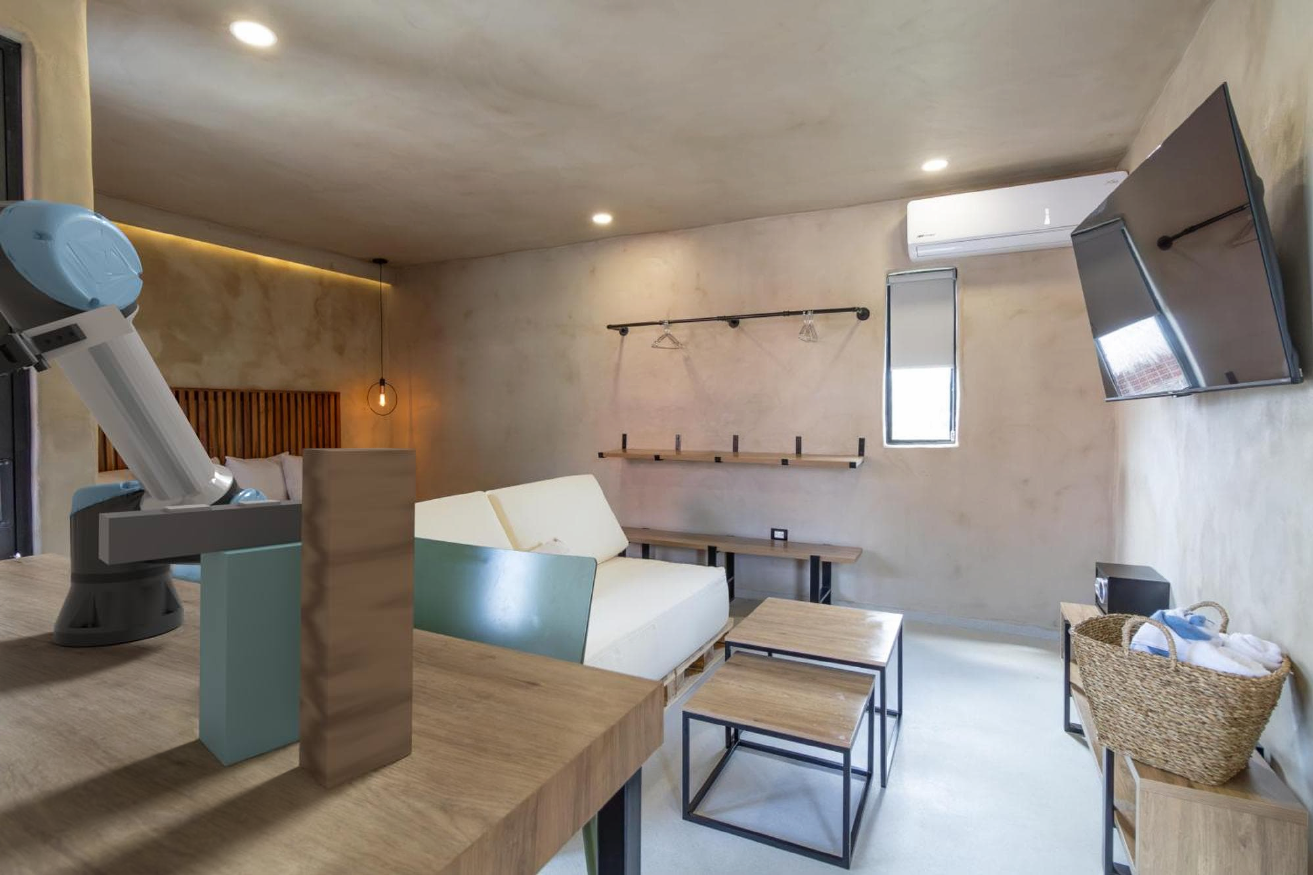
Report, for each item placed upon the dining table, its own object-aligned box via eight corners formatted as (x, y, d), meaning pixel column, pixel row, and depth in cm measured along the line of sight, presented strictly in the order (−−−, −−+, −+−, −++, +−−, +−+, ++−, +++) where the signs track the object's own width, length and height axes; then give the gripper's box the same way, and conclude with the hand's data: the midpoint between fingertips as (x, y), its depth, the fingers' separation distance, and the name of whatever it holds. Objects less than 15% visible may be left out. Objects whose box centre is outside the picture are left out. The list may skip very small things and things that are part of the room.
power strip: (98, 558, 55) (99, 509, 55) (348, 529, 72) (349, 492, 72) (108, 564, 52) (108, 513, 52) (365, 533, 70) (365, 495, 69)
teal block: (198, 738, 63) (200, 543, 62) (308, 703, 71) (310, 531, 71) (225, 766, 58) (227, 554, 57) (340, 725, 66) (342, 539, 66)
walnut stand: (299, 765, 58) (302, 448, 58) (381, 733, 64) (385, 447, 64) (326, 789, 54) (330, 451, 54) (411, 753, 60) (415, 449, 60)
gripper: (-170, 467, 55) (105, 367, 69) (-196, 486, 39) (166, 352, 53) (-244, 391, 52) (59, 303, 66) (-305, 380, 36) (110, 267, 50)
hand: (107, 324), depth 60 cm, fingers open, 13 cm apart
